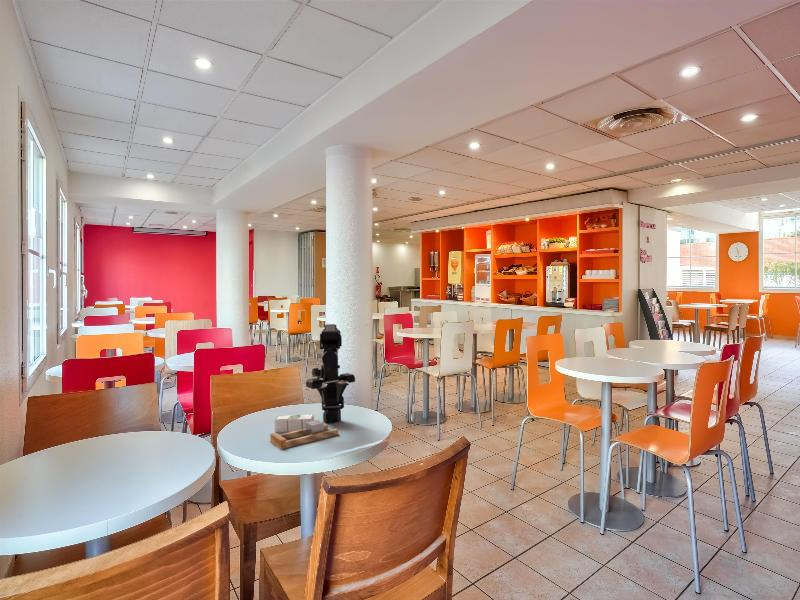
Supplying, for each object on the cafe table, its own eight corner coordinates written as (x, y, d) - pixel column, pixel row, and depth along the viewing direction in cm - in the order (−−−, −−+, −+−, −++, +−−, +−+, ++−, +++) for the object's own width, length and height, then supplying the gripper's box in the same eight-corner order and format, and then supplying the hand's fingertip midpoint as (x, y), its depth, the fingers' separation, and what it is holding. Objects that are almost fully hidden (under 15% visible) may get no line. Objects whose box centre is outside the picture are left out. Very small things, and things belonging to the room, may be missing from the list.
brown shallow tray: (324, 430, 180) (324, 420, 180) (340, 437, 171) (340, 427, 171) (269, 443, 166) (268, 433, 166) (282, 452, 157) (282, 441, 157)
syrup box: (274, 434, 176) (312, 433, 177) (274, 419, 176) (311, 418, 177) (278, 429, 182) (314, 428, 183) (277, 414, 182) (314, 414, 182)
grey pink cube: (317, 432, 174) (317, 419, 174) (324, 435, 171) (323, 422, 170) (305, 435, 171) (305, 422, 171) (312, 438, 167) (311, 425, 167)
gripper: (340, 357, 187) (341, 395, 187) (298, 363, 175) (300, 403, 176) (355, 360, 178) (356, 400, 179) (312, 366, 167) (313, 408, 167)
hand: (331, 402), depth 175 cm, fingers open, 6 cm apart
